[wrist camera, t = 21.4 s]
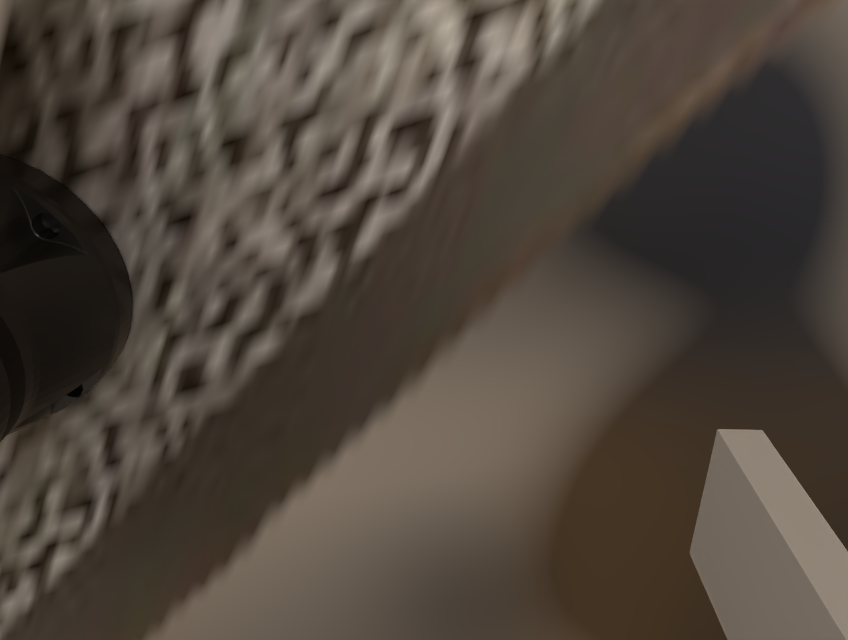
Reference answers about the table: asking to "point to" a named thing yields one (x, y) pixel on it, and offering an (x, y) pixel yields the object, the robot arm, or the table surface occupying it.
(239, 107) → the table surface
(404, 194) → the table surface
